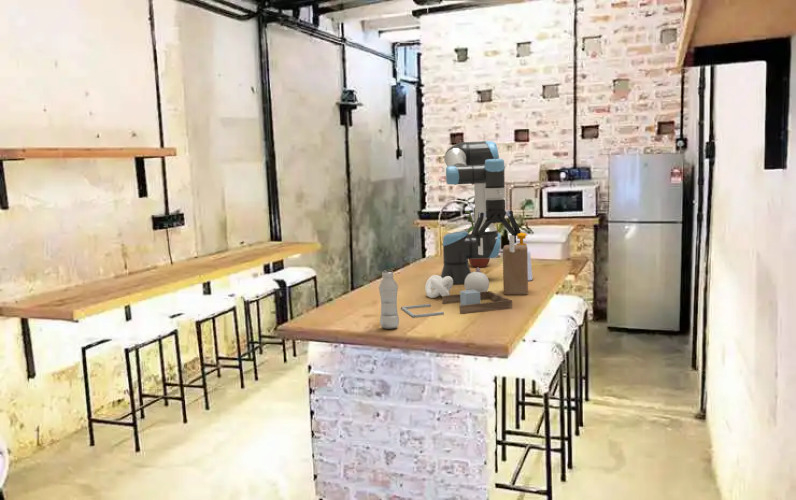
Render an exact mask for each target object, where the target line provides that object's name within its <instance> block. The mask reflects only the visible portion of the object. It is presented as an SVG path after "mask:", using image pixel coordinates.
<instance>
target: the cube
mask: <svg viewBox="0 0 796 500" xmlns="http://www.w3.org/2000/svg"><path fill="white" fill-rule="evenodd" d="M459 294H460V302H459V303H460V305H469V304H478V303H481V300H480V292H478V291H476V290H466V289H465V290H460V291H459ZM460 305H459V306H460Z"/></svg>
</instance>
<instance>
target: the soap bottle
mask: <svg viewBox="0 0 796 500" xmlns="http://www.w3.org/2000/svg"><path fill="white" fill-rule="evenodd" d="M527 236H528V234H527V233H525V232H523V231H521V233H519V234H518V235H517V236H516V240H517V239H518V240H519V243H516V245H527V243H524V240H525V239H526V238H527ZM527 257H528V282H530V281H532V280H533V271H532V270H533V268H532V257H531V250H530V249H529V248H527Z"/></svg>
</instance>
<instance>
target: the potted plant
mask: <svg viewBox="0 0 796 500" xmlns="http://www.w3.org/2000/svg"><path fill="white" fill-rule="evenodd" d="M471 212H472V211H466V213H467V215H466V217H467V223H471V226H470V227H469V228H468V229H467V233H468V234H471V232H472V230H473V229H474V226H475V206H474V207H473V216H474V220H473V216H472V215H471ZM490 259H491V258H489V259H487V258H481V259H468V263H469V264H470V265H471V266H472V267H473V268H477V267H480V268H485V267H487V266H488V264H489V263H490Z"/></svg>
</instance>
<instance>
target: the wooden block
mask: <svg viewBox="0 0 796 500" xmlns="http://www.w3.org/2000/svg"><path fill="white" fill-rule="evenodd" d="M514 248H515V252H510V244H505V245H504V246H503V249H502V272H503V273H502V275H503V277H502V278H503V279H502V280H503V281H502V282H503V283H502V284H503V294H504V295H505V296H506V295H507V296H510V295H511V296H518V295H519V296H526V295H528V293H529V281H528V257H527V249H528V245H527V244H526V245H517V244H514Z"/></svg>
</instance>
